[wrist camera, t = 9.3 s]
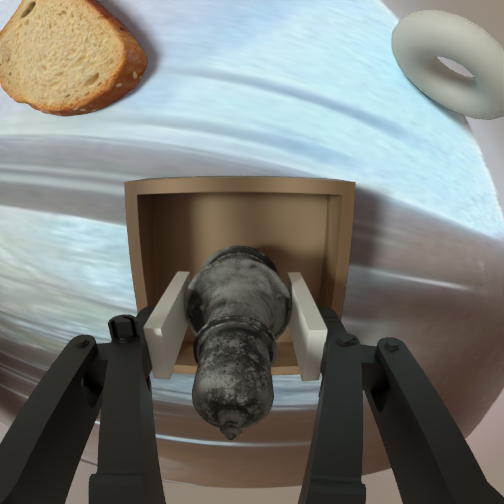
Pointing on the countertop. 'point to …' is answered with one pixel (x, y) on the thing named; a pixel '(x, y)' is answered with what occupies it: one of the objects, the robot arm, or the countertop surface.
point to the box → (240, 237)
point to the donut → (459, 50)
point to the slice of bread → (68, 57)
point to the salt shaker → (236, 336)
